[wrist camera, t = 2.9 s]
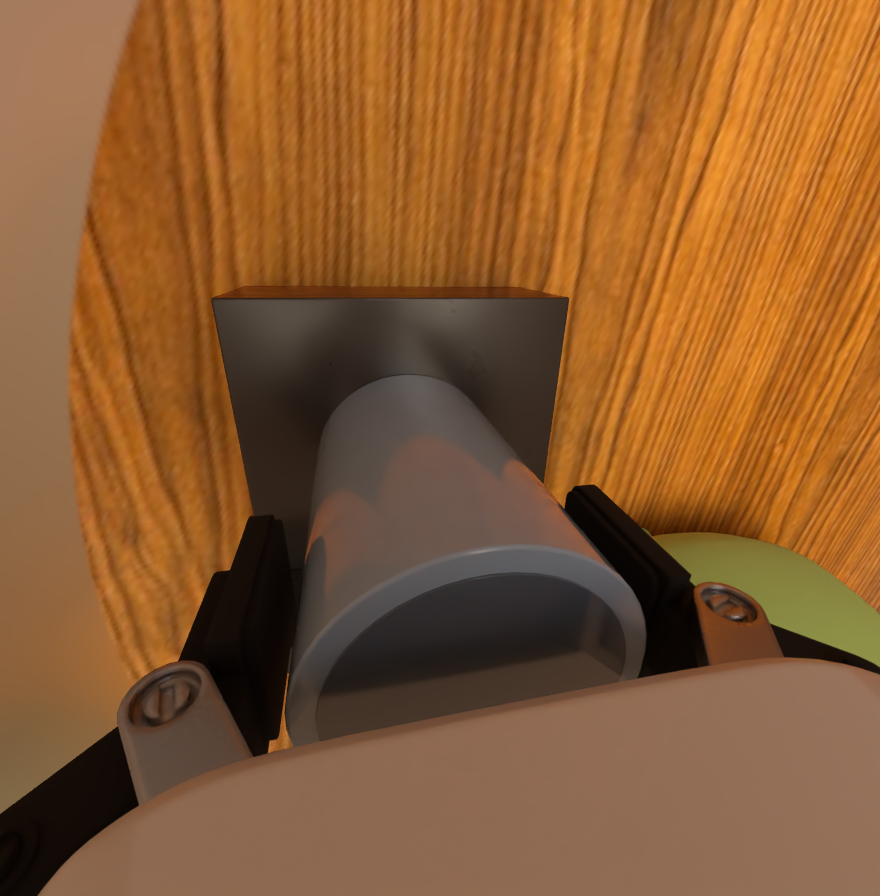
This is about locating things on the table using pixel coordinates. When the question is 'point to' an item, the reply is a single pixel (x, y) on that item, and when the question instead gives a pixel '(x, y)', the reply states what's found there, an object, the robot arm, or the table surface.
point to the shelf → (376, 372)
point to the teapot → (781, 588)
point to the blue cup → (442, 573)
